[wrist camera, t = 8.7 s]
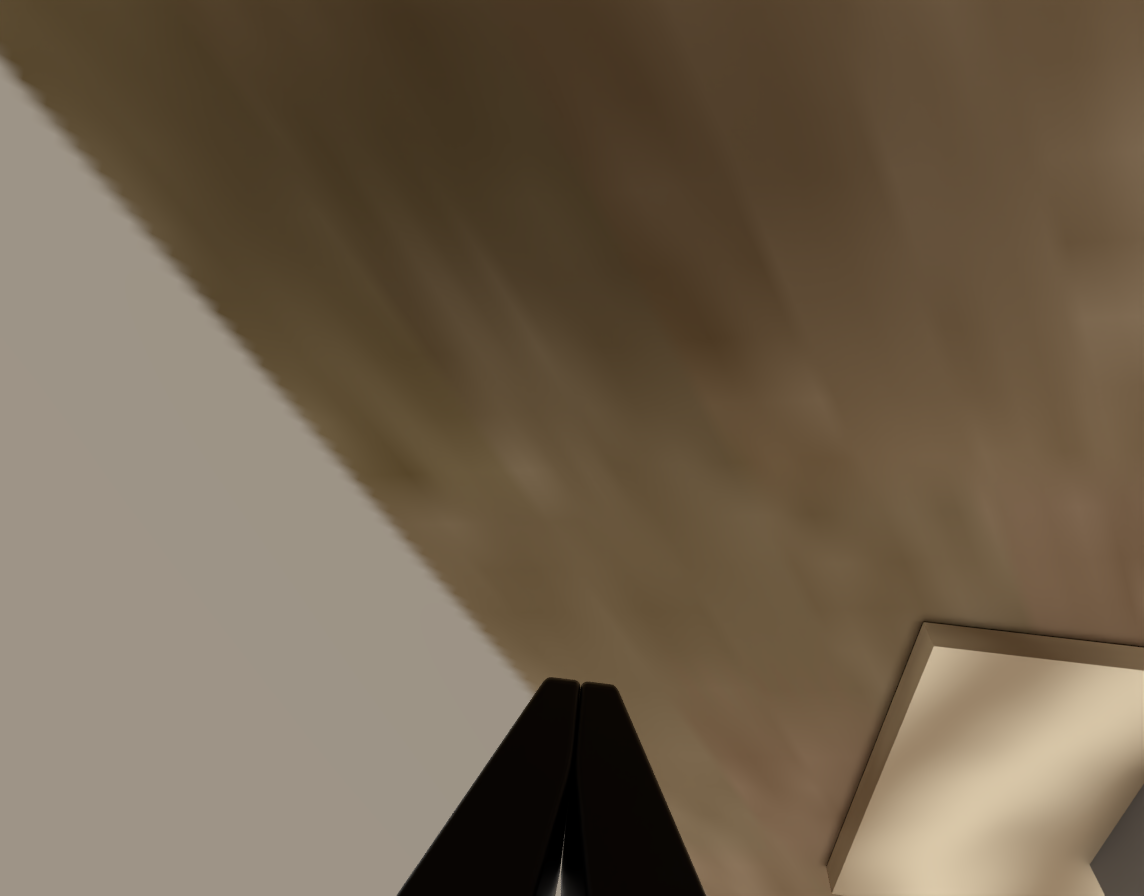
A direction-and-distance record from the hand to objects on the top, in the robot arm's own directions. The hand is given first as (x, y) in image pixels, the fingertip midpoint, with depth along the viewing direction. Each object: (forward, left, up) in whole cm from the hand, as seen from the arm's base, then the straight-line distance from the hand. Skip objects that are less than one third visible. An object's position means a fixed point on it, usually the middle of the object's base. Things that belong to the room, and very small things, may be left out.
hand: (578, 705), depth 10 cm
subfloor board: (-18, +14, -12) cm, 26 cm away
